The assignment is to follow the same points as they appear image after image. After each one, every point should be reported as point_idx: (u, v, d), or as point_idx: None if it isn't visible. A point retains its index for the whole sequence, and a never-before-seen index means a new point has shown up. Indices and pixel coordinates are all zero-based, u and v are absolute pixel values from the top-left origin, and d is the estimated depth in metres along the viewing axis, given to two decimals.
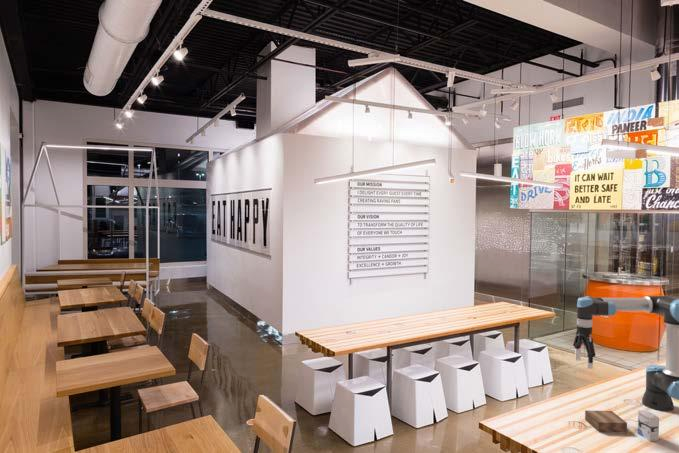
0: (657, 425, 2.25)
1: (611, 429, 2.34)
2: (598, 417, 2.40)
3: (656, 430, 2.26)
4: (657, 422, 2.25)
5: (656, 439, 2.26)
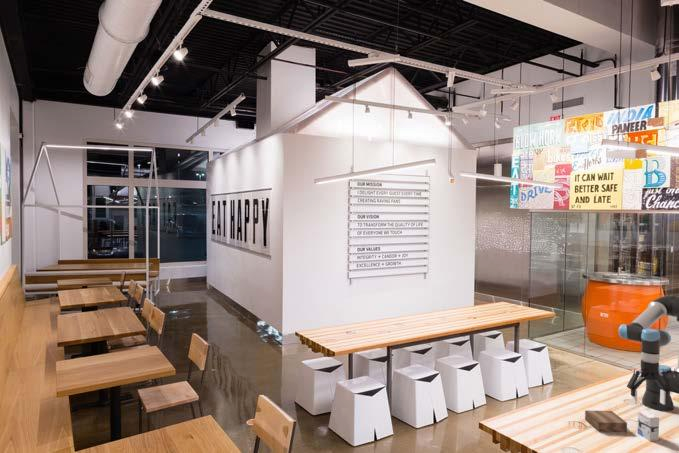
0: (657, 425, 2.25)
1: (611, 429, 2.34)
2: (598, 417, 2.40)
3: (656, 430, 2.26)
4: (657, 422, 2.25)
5: (656, 439, 2.26)
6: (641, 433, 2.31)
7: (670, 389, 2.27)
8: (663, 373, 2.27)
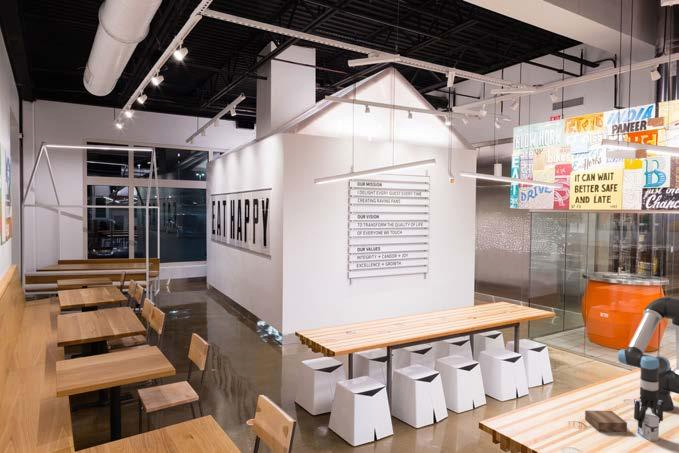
0: (657, 425, 2.25)
1: (611, 429, 2.34)
2: (598, 417, 2.40)
3: (656, 430, 2.26)
4: (657, 422, 2.25)
5: (656, 439, 2.26)
6: None
7: (661, 420, 2.28)
8: (662, 403, 2.28)
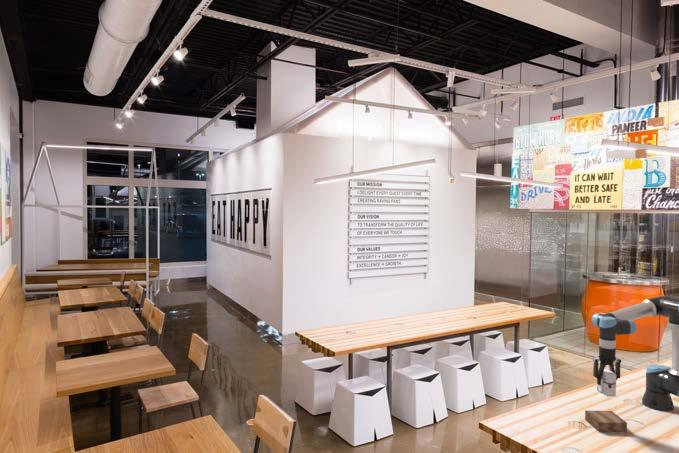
0: (614, 381, 2.36)
1: (611, 429, 2.34)
2: (598, 417, 2.40)
3: (614, 386, 2.36)
4: (614, 379, 2.36)
5: (613, 395, 2.37)
6: None
7: (619, 377, 2.39)
8: (619, 361, 2.39)
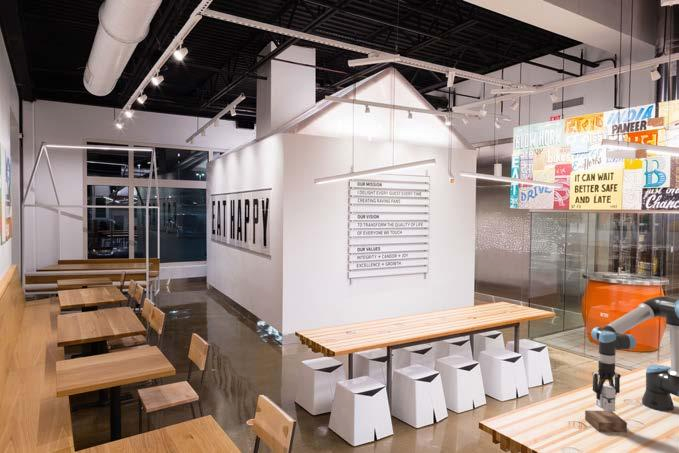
0: (614, 396, 2.37)
1: (611, 429, 2.34)
2: (598, 417, 2.40)
3: (613, 401, 2.37)
4: (614, 393, 2.36)
5: (613, 410, 2.37)
6: None
7: (618, 392, 2.39)
8: (618, 376, 2.39)
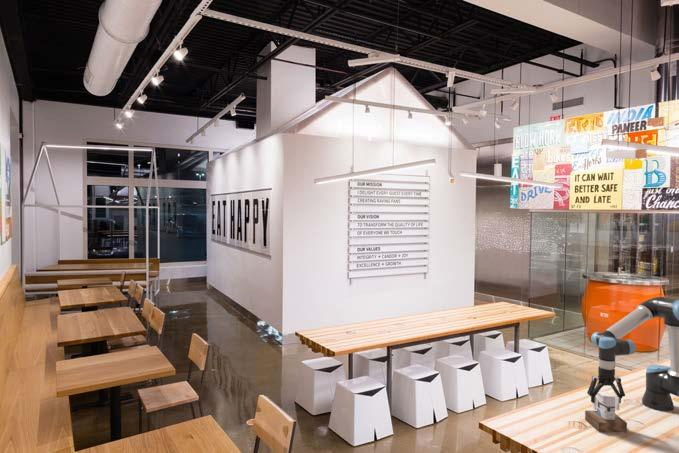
0: (613, 405, 2.37)
1: (611, 429, 2.34)
2: (598, 417, 2.40)
3: (613, 410, 2.37)
4: (613, 402, 2.37)
5: (612, 418, 2.37)
6: (599, 413, 2.42)
7: (624, 395, 2.39)
8: (619, 380, 2.39)
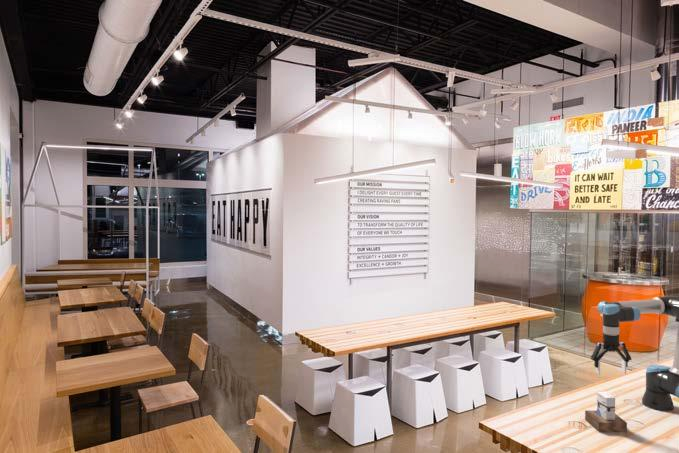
0: (613, 405, 2.37)
1: (611, 429, 2.34)
2: (598, 417, 2.40)
3: (613, 410, 2.37)
4: (613, 402, 2.37)
5: (612, 418, 2.37)
6: (599, 413, 2.42)
7: (630, 359, 2.43)
8: (623, 344, 2.43)
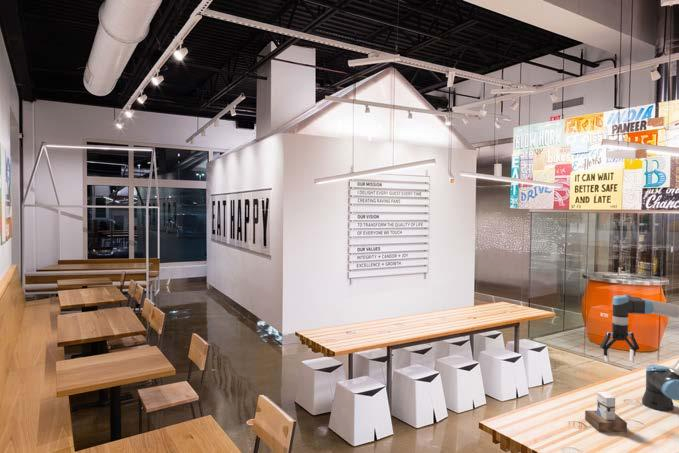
0: (613, 405, 2.37)
1: (611, 429, 2.34)
2: (598, 417, 2.40)
3: (613, 410, 2.37)
4: (613, 402, 2.37)
5: (612, 418, 2.37)
6: (599, 413, 2.42)
7: (638, 348, 2.55)
8: (632, 334, 2.55)
